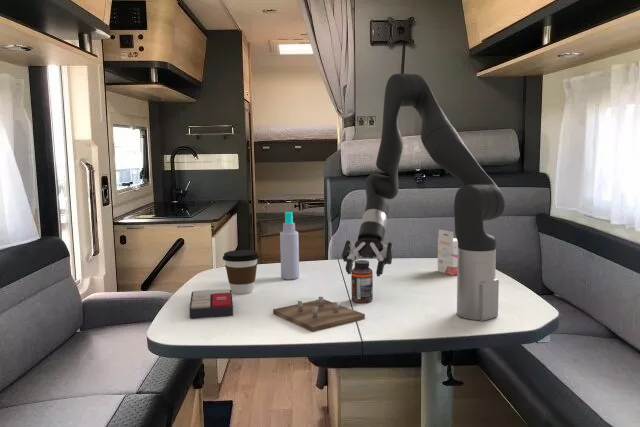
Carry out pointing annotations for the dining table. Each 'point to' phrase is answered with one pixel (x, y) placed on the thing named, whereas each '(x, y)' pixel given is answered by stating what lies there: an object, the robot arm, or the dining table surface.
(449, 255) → the ink cartridge box
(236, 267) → the coffee cup
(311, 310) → the pin tray
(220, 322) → the dining table surface
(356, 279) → the supplement bottle
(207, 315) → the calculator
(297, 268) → the spray bottle
